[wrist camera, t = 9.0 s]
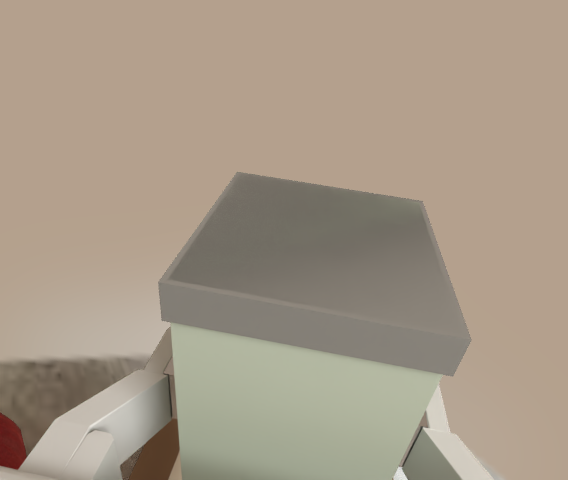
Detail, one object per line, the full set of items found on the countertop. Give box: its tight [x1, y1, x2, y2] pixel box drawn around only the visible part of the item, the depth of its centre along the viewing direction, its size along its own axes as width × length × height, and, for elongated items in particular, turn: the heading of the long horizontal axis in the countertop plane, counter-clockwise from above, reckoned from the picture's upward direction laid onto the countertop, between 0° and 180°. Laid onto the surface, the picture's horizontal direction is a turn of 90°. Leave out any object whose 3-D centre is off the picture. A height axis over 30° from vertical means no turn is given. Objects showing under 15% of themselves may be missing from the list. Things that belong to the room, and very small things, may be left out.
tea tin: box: [158, 172, 471, 480], centre depth 11 cm, size 5×5×11 cm
